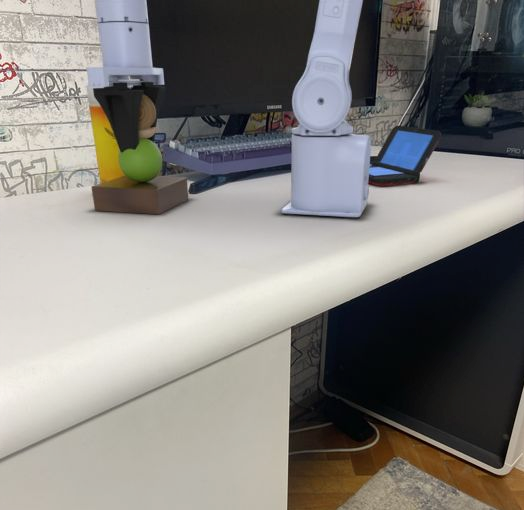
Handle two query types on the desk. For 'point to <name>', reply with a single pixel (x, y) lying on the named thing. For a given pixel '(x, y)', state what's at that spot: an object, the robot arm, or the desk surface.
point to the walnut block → (140, 195)
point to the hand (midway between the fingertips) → (137, 150)
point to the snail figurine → (143, 148)
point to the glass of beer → (104, 140)
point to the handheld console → (403, 156)
